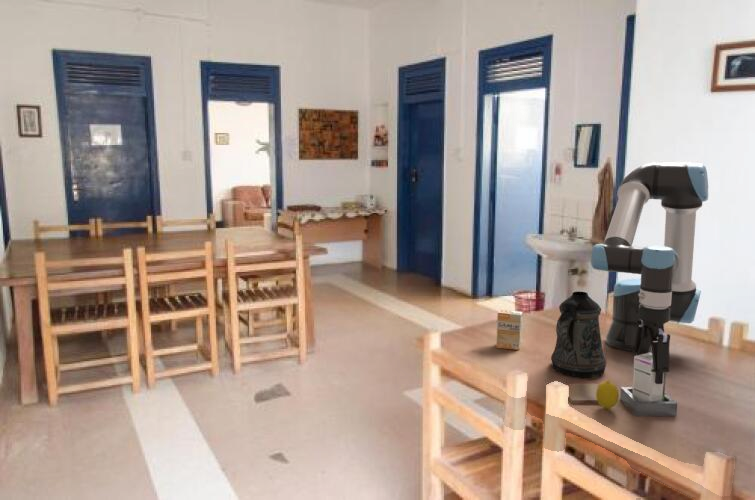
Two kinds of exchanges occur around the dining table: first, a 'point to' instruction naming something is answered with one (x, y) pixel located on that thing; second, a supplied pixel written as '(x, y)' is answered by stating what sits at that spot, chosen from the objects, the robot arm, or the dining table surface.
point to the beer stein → (579, 339)
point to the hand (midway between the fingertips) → (648, 387)
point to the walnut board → (583, 393)
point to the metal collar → (648, 404)
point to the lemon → (607, 394)
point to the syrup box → (645, 379)
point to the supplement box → (509, 329)
